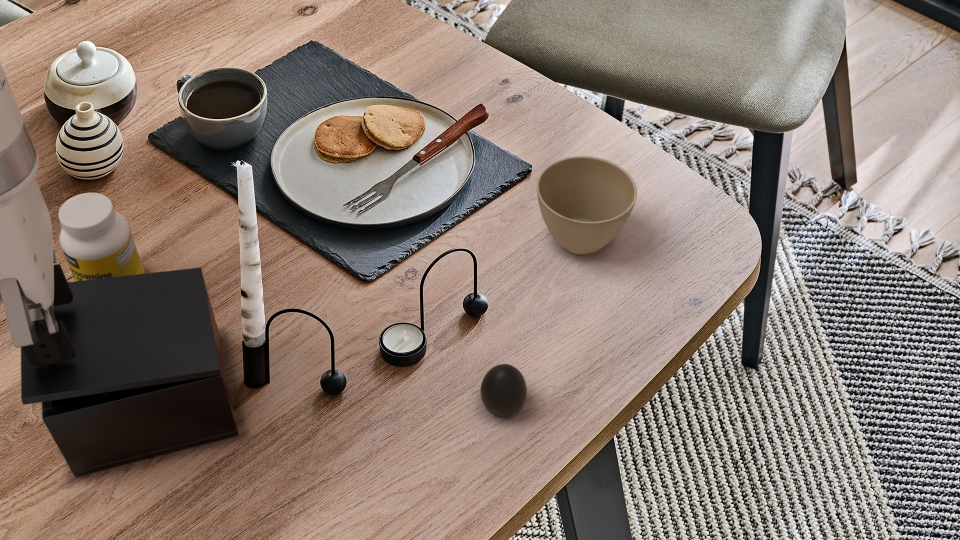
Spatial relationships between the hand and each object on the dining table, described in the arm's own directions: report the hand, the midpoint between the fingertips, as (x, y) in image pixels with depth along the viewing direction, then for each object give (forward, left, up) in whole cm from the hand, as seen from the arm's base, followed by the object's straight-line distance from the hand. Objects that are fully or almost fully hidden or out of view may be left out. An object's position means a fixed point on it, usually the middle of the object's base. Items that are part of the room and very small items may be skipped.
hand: (53, 329), depth 74 cm
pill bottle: (-4, +14, -12) cm, 19 cm away
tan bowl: (+41, +28, -12) cm, 52 cm away
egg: (+35, +6, -12) cm, 38 cm away
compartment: (+4, +2, -12) cm, 13 cm away
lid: (+4, +2, -2) cm, 5 cm away
